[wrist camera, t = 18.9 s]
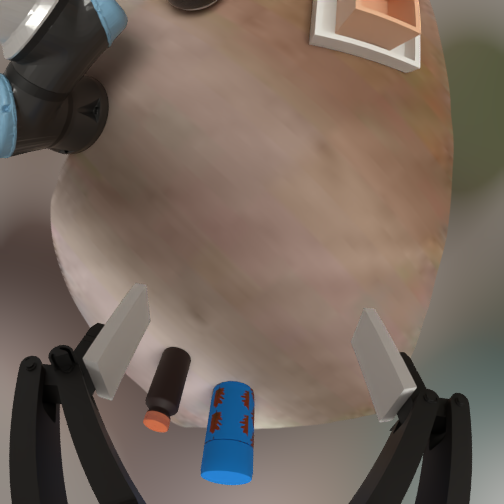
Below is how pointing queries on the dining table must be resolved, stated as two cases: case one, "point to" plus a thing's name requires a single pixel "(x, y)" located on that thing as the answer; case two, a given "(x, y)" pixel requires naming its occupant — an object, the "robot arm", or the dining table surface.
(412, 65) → the white tray
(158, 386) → the bottle
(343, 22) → the terracotta crate
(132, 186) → the dining table surface
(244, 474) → the thermos
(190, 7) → the pump dispenser
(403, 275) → the dining table surface
